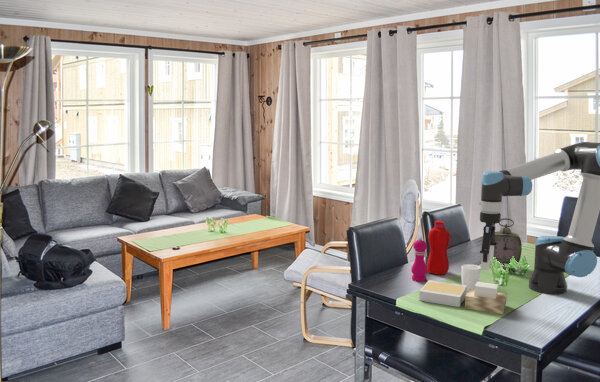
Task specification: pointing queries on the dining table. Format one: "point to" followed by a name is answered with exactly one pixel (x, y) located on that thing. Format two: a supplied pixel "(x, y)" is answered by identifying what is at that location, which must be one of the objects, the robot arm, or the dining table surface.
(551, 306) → the dining table surface
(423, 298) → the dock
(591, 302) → the dining table surface
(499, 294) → the pallet
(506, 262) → the tabletop clock
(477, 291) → the white block
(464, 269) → the white cup
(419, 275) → the pepper mill
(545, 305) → the dining table surface
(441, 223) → the water bottle
